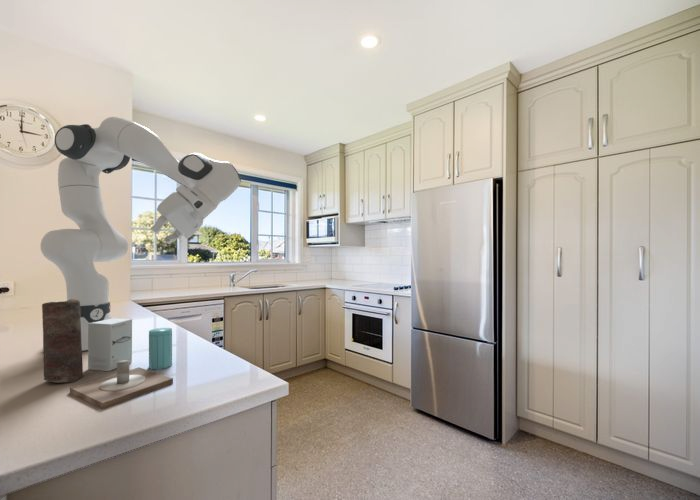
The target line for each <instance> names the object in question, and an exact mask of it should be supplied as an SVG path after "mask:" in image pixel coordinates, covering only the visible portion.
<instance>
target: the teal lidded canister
mask: <svg viewBox="0 0 700 500" xmlns="http://www.w3.org/2000/svg"><path fill="white" fill-rule="evenodd" d="M172 365H173V329H172V328H171V327H158V328H152V329H150V330H148V369H149V368H150V370H152V369H157V370H162V368H164V369H166V367H167V368H170V367H171V366H172ZM169 366H170V367H169Z"/></svg>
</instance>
